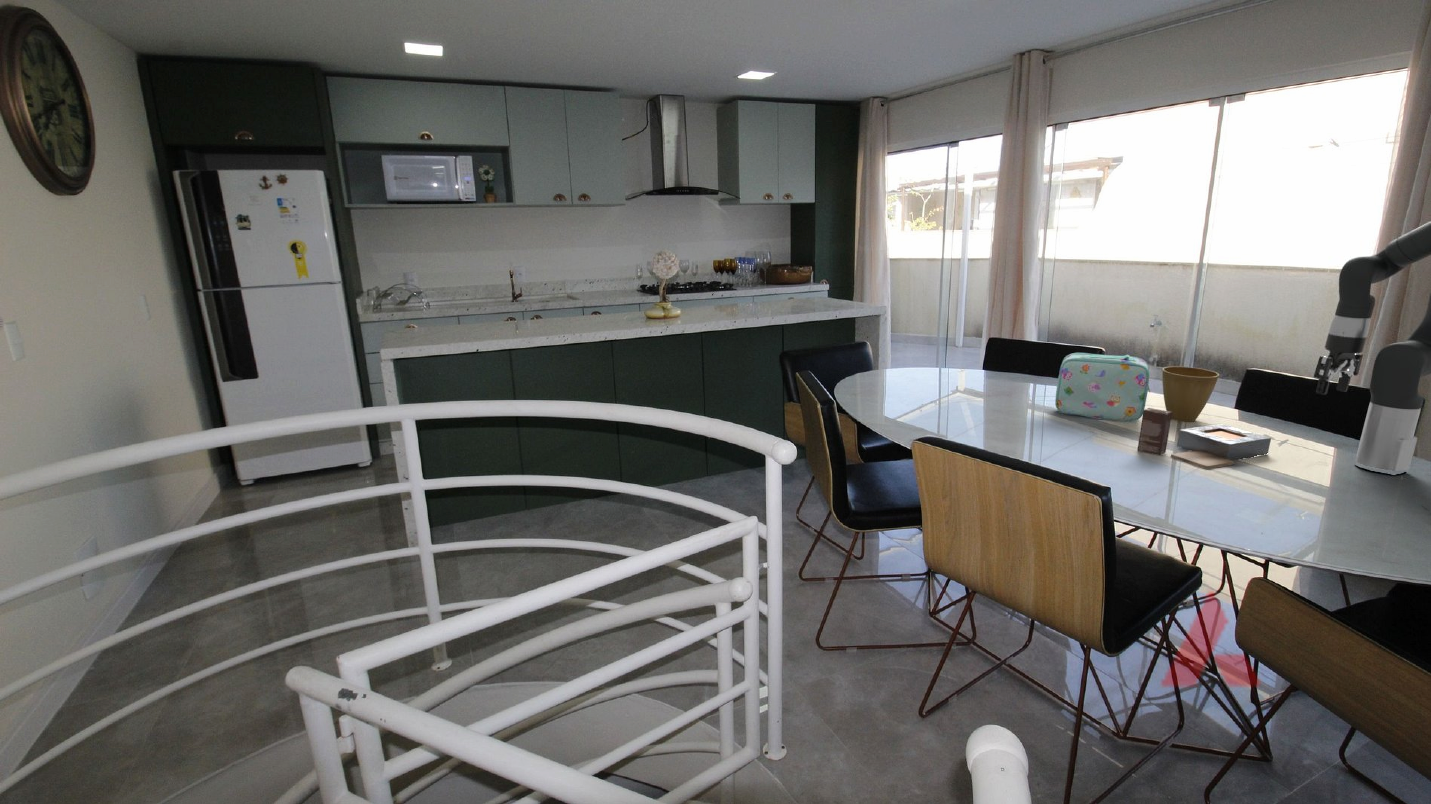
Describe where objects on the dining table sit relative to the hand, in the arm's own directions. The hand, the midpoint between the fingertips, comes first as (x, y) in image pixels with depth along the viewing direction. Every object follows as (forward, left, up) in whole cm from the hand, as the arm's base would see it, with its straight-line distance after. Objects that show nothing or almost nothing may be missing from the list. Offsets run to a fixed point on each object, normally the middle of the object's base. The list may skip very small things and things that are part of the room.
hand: (1331, 392), depth 181 cm
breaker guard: (+11, +22, -17) cm, 30 cm away
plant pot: (+37, +3, -18) cm, 41 cm away
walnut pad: (+7, +35, -17) cm, 40 cm away
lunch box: (+49, +25, -18) cm, 57 cm away
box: (+17, +41, -18) cm, 48 cm away
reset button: (+11, +22, -14) cm, 28 cm away
